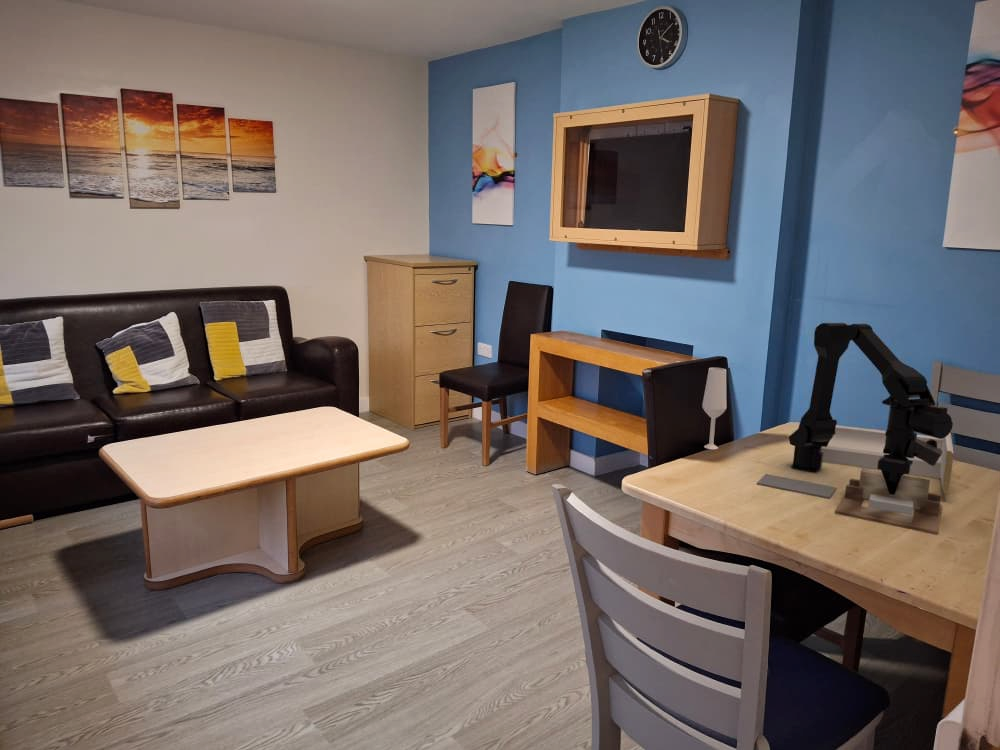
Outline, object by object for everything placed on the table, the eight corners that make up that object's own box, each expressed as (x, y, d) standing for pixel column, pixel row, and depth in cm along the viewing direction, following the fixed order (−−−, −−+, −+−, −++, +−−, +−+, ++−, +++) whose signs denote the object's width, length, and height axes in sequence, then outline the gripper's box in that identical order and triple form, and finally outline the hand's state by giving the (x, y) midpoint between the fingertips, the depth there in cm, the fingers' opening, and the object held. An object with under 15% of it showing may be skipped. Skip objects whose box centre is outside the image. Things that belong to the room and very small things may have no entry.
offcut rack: (834, 513, 162) (836, 497, 162) (848, 489, 179) (849, 475, 178) (937, 534, 151) (940, 518, 151) (942, 507, 168) (944, 492, 167)
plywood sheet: (857, 497, 171) (860, 471, 170) (859, 493, 173) (862, 468, 172) (925, 510, 163) (929, 483, 162) (926, 506, 166) (930, 479, 164)
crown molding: (948, 440, 192) (951, 435, 189) (947, 482, 188) (950, 477, 185) (821, 425, 205) (822, 420, 202) (817, 464, 200) (818, 459, 197)
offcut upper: (868, 507, 160) (869, 499, 159) (869, 501, 163) (870, 493, 163) (912, 515, 156) (913, 507, 155) (911, 508, 159) (913, 501, 159)
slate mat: (756, 484, 181) (756, 482, 180) (765, 475, 188) (765, 473, 188) (829, 498, 171) (830, 497, 171) (836, 488, 179) (836, 487, 179)
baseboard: (947, 500, 171) (954, 451, 169) (933, 497, 173) (940, 449, 170) (943, 466, 198) (950, 424, 195) (931, 464, 199) (937, 422, 197)
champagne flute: (727, 453, 207) (734, 371, 203) (706, 453, 206) (712, 371, 202) (715, 446, 214) (722, 366, 210) (694, 447, 212) (700, 367, 208)
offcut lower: (860, 513, 161) (861, 505, 160) (863, 507, 165) (864, 499, 164) (911, 524, 155) (912, 516, 155) (913, 517, 159) (914, 509, 159)
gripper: (940, 442, 153) (930, 511, 156) (944, 425, 168) (935, 488, 171) (881, 433, 159) (872, 500, 162) (890, 417, 174) (882, 479, 177)
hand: (892, 492), depth 168 cm, fingers closed on plywood sheet, 3 cm apart
